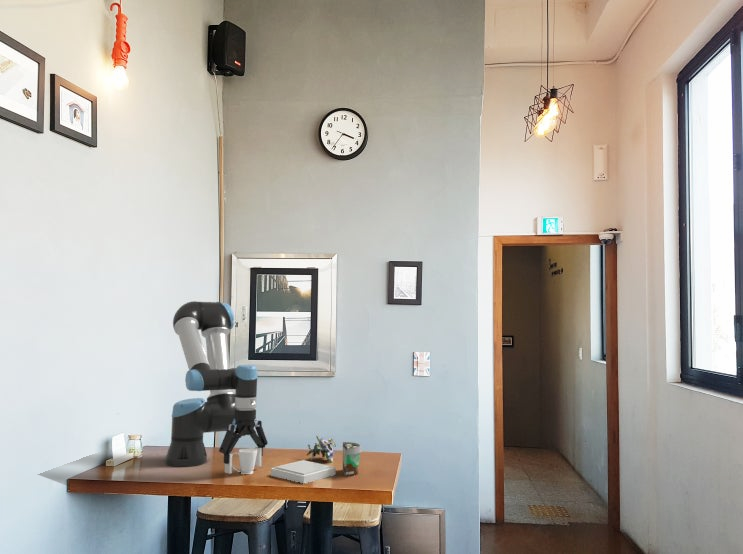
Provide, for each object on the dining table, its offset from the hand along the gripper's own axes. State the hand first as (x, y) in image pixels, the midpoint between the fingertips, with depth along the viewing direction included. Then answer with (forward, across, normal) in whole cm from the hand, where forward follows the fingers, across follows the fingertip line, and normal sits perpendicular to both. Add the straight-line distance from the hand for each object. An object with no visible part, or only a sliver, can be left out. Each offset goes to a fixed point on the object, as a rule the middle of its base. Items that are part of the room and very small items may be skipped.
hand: (243, 469), depth 213 cm
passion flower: (+2, +32, -8) cm, 33 cm away
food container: (+2, +26, -29) cm, 39 cm away
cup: (+1, 0, 0) cm, 1 cm away
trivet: (+1, +12, -18) cm, 22 cm away
